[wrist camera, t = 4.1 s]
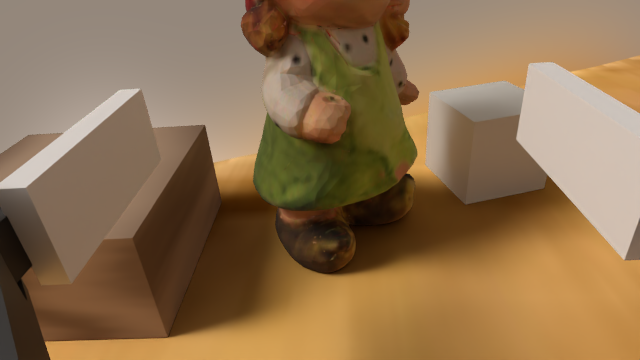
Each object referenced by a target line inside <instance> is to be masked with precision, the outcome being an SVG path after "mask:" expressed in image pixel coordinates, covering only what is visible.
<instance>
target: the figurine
mask: <svg viewBox="0 0 640 360" xmlns="http://www.w3.org/2000/svg"><path fill="white" fill-rule="evenodd" d="M409 2H410V0H245V3H246V10H247V12H246V13H245V15H244V16H243V17H242V21H241V28H242V31H243V34H244V36H245V37H246V39H247V40H248V42H249V43H250V44H251V46H252V47H254V49H255V50H257V51H258V52H260V53H261V54H263V55H264V56H266V65H265V69H264V73H263V80H262V90H261V91H262V99H263V102H264V106H265V108H266V110H267V116H266V121H265V125H264V130H263V135H262V139H261V143H260V147H259V150H258V154H257V158H256V161H255V168H254V178H253V183H254V185H255V188H256V190H257V191H258V193H259V194H260V196H261V197H262V199H263V200H265V201H266V202H268V203H269V204H271V205H273V206H276V207H278V209H277V214H276V230H277V233H278V236H279V239H280V241H281V242H282V244H283V246H284V247H285V249H286V250H287V252H288V253H289V254H290V255H291V256H292V258H293V259H294V260H295V261H297V262H298V263H299V264H301V265H302V266H303V267H306V268H309V269H312V270H315V271H318V272H323V273H327V272H333V271H337V270H339V269H341V268H343V267H344V266H345V265H346V264H347V263H348V262H349V261H350V260H352V258H353V255H354V253H355V248H356V241H355V236H354V233H353V231H352V229H351V228H350V227H349V225H348V224H351V225H379V224H385V223H390V222H393V221H395V220H398V219H400V218H402V217H403V216H404V215H405V214H406V213H407V212H408V211H409V210H410V209H411V207H412V205H413V202H414V190H415V181H414V178H413V177H412V176H411V175H410V174H406V172H407V171H408V170H409V169H410V167H411V166H412V165H413V163H414V161H415V159H416V157H417V149H416V146H415V143H414V141H413V139H412V138H411V136H410V134H409V132H408V130H407V128H406V126H405V122H404V118H403V113H402V108H401V105H407V104H410V103H411V102H413V101H414V100H416V99H417V98H418V94H419V91H418V90H417V88H416V86H415V85H414V84H412V83H411V82H409V81H408V80H407V73H406V70H405V67H404V65H403V63H402V61H401V59H400V57H399V55H398V53H397V51H396V48H397V47H398V46H400V45H401V44H402V43H403V42H404V41H405V40H406V39H407V38H408V36H409V23H408V22H407V21H406V20H404V14H405V13H406V11H407V10H408V7H409Z"/></svg>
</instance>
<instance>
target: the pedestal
mask: <svg viewBox="0 0 640 360" xmlns="http://www.w3.org/2000/svg"><path fill="white" fill-rule="evenodd" d="M153 132H154V135H155V139H156V142H157V146H158V150H159V153H160V157H161V161H160V162H159V163H158V165H157V166H156V168H155V169H154V170H153V172H152V173H151V175H150V176H149V177H148V179H147V180H146V181H145V183H144V184H143V186H142V187H141V188H140V190H139V191H138V193H137V194H136V195H135V197H134V198H133V199H132V201H131V202H130V204H129V205H128V206H127V208H126V209H125V211H124V212H123V213H122V215H121V216H120V217H119V219H118V220H117V222H116V223H115V224H114V226H113V227H112V229H111V230H110V231H109V233H108V234H107V236H106V237H105V238H104V240H103V241H102V242H101V244H100V245H99V247H98V248H97V249H96V251H95V252H94V254H93V255H92V256H91V258H90V259H89V260H88V262H87V263H86V265H85V266H84V267H83V269H82V270H81V272H80V273H79V274H78V276H77V277H76V278H75V280H74V281H73V283H72V284H60V285H41V284H40V282H39V280H38V278H37V276H36V274H35V272H34V270H33V269H32V267H31V268H30V269H29V270H28V271H27V272H26V273H25V274H24V275H23V277H22V280H23V282H24V284H25V285H26V287H27V289H28V292H29V295H30V298H31V301H32V304H33V307H34V310H35V314H36V317H37V320H38V323H39V326H40V329H41V332H42V335H43V338H44V341H59V340H92V339H125V338H158V337H168V335H169V332H170V330H171V327H172V325H173V322H174V320H175V317H176V315H177V312H178V310H179V307H180V305H181V302H182V300H183V297H184V295H185V292H186V290H187V287H188V285H189V282H190V280H191V277H192V275H193V272H194V270H195V267H196V265H197V262H198V260H199V257H200V255H201V252H202V250H203V247H204V245H205V242H206V240H207V237H208V235H209V232H210V230H211V227H212V225H213V222H214V220H215V217H216V215H217V212H218V210H219V207H220V205H221V202H222V201H221V197H220V192H219V187H218V183H217V178H216V174H215V169H214V164H213V160H212V155H211V151H210V146H209V141H208V137H207V132H206V128H205V125H196V126H178V127H161V128H153ZM62 134H63V133H56V134H37V135H28V136H26V137H25V138H23V139H22V140H20V141H19V142H18V143H16V144H15V145H13V146H12V147H10V148H9V149H7V150H6V151H4V152H3V153H1V154H0V182H2V181H3V180H4V179H5V178H7V177H8V176H9V175H11V174H12V173H13V172H14V171H16V170H17V169H18V168H20V167H21V166H22V165H23V164H25V163H26V162H27V161H29V160H30V159H31V158H33V157H34V156H35V155H36V154H38V153H39V152H40V151H42V150H43V149H44V148H45V147H47V146H48V145H49V144H51V143H52V142H53V141H54V140H56V139H57V138H58V137H60V136H61V135H62Z"/></svg>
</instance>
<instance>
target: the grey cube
mask: <svg viewBox="0 0 640 360" xmlns="http://www.w3.org/2000/svg"><path fill="white" fill-rule="evenodd" d="M523 96H524V89H521V88H519V87H517V86H515V85H513V84H511V83H508V82H506V81H500V82H493V83H487V84H481V85H474V86H467V87H460V88H454V89H448V90H442V91H434V92H430V96H429V113H428V129H427V146H426V163H425V165H426V166H427V167H428V168H429V169H430V170H431V171H432V172H433V173H434V174H435V175H436V176H437V177H438V178H439V179H440V180H441V181H442V182H443V183H444V184H445V185H446V186H447V187H448V188H449V189H450V190H451V191H452V192H453V193H454V194H455V195H456V196H457V197H458V198H459V199H460V200H461V201H462V202H463V203H464V204H465V205H466V204H471V203H475V202H480V201H485V200H490V199H495V198H500V197H505V196H509V195H514V194H519V193H524V192H529V191H534V190H539V189H544V187H545V183H546V178H547V173H546V172H545V171H544V170H543V169H542V168H541V167H540V166H539V164H538V163H537V162H536V161H535V160H534V159H533V158H532V157H531V156H530V154H529V153H528V152H527V151H526V150H525V149H524V148H523V147H522V145H521V144H520V143H519V142H518V141H517V140H516V137H517V131H518V126H519V120H520V114H521V108H522V102H523Z"/></svg>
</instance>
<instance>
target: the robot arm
mask: <svg viewBox="0 0 640 360" xmlns="http://www.w3.org/2000/svg"><path fill="white" fill-rule="evenodd" d="M516 140H517V141H518V142H519V143H520V144H521V145H522V147H523V148H524V149H525V150H526V151H527V152H528V153H529V154H530V156H531V157H532V158H533V159H534V160H535V161H536V162H537V163H538V164H539V166H540V167H541V168H542V169H543V170H544V171H545V172H546V173H547V175H548V176H549V177H550V178H551V179H552V180H553V181H554V182H555V183H556V185H557V186H558V187H559V188H560V189H561V190H562V191H563V192H564V194H565V195H566V196H567V197H568V198H569V199H570V200H571V201H572V202H573V204H574V205H575V206H576V207H577V208H578V209H579V210H580V211H581V213H582V214H583V215H584V216H585V217H586V218H587V219H588V220H589V221H590V223H591V224H592V225H593V226H594V227H595V228H596V229H597V230H598V232H599V233H600V234H601V235H602V236H603V237H604V238H605V239H606V240H607V242H608V243H609V244H610V245H611V246H612V247H613V248H614V249H615V251H616V252H617V253H618V254H619V255H620V256H621V257H622V258H623V259H624V260H640V113H638V112H636V111H635V110H633V109H631V108H629V107H628V106H626V105H624V104H623V103H621V102H619V101H618V100H616V99H614V98H613V97H611V96H609V95H608V94H606V93H604V92H602V91H601V90H599V89H597V88H596V87H594V86H592V85H591V84H589V83H587V82H586V81H584V80H582V79H580V78H579V77H577V76H575V75H574V74H572V73H570V72H569V71H567V70H565V69H564V68H562V67H560V66H558V65H557V64H555V63H553V62H546V63H532V64H531V63H530V64H529V67H528V73H527V79H526V84H525V90H524V96H523V102H522V108H521V114H520V120H519V126H518V131H517V137H516ZM160 161H161V157H160V153H159V150H158V146H157V142H156V139H155V135H154V132H153V128H152V125H151V121H150V118H149V114H148V111H147V107H146V104H145V100H144V97H143V93H142V90H141V89H129V90H119V91H118V92H116V93H115V94H114V95H113V96H111V97H110V98H109V99H108V100H106V101H105V102H104V103H102V104H101V105H100V106H98V107H97V108H96V109H94V110H93V111H92V112H91V113H90V114H88V115H87V116H86V117H84V118H83V119H82V120H80V121H79V122H78V123H77V124H75V125H74V126H73V127H71V128H70V129H69V130H67V131H66V132H65V133H63V134H62V135H61V136H60V137H58V138H57V139H56V140H54V141H53V142H52V143H51V144H49V145H48V146H47V147H45V148H44V149H43V150H42V151H40V152H39V153H38V154H36V155H35V156H34V157H33V158H31V159H30V160H29V161H27V162H26V163H25V164H23V165H22V166H21V167H20V168H18V169H17V170H16V171H14V172H13V173H12V174H11V175H9V176H8V177H7V178H5V179H4V180H3V181H2V182H0V360H50V357H49V354H48V351H47V348H46V345H45V342H44V338H43V335H42V332H41V329H40V326H39V323H38V320H37V317H36V314H35V310H34V307H33V304H32V301H31V298H30V295H29V292H28V289H27V287H26V285H25V284H24V282H23V280H22V277H23V275H24V274H25V273H26V272H27V271H28V270H29V269H30V268H31V267H32V269H33V270H34V272H35V274H36V276H37V278H38V280H39V282H40V284H41V285H60V284H72V283H73V281H74V280H75V278H76V277H77V276H78V274H79V273H80V272H81V270H82V269H83V267H84V266H85V265H86V263H87V262H88V260H89V259H90V258H91V256H92V255H93V254H94V252H95V251H96V249H97V248H98V247H99V245H100V244H101V242H102V241H103V240H104V238H105V237H106V236H107V234H108V233H109V231H110V230H111V229H112V227H113V226H114V224H115V223H116V222H117V220H118V219H119V217H120V216H121V215H122V213H123V212H124V211H125V209H126V208H127V206H128V205H129V204H130V202H131V201H132V199H133V198H134V197H135V195H136V194H137V193H138V191H139V190H140V188H141V187H142V186H143V184H144V183H145V181H146V180H147V179H148V177H149V176H150V175H151V173H152V172H153V170H154V169H155V168H156V166H157V165H158V163H159V162H160Z"/></svg>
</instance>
